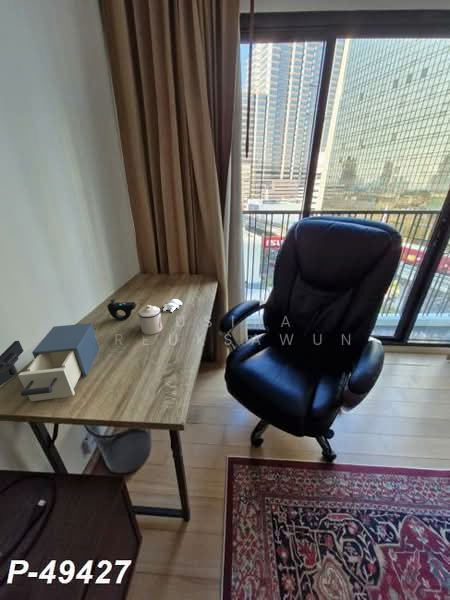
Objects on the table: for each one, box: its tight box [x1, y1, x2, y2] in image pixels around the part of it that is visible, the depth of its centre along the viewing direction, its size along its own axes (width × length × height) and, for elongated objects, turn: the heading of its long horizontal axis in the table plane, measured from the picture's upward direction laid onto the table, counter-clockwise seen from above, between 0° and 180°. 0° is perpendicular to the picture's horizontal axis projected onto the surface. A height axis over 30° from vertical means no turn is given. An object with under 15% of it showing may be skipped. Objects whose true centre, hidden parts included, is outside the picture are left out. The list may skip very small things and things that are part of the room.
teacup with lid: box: [137, 304, 163, 336], centre depth 107 cm, size 12×9×12 cm
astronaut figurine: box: [162, 298, 183, 313], centre depth 126 cm, size 9×12×3 cm
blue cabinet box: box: [31, 322, 100, 378], centre depth 86 cm, size 15×13×12 cm
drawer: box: [17, 350, 82, 402], centre depth 75 cm, size 19×12×10 cm, turn 9°
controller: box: [106, 298, 137, 321], centre depth 114 cm, size 4×12×10 cm, turn 96°
